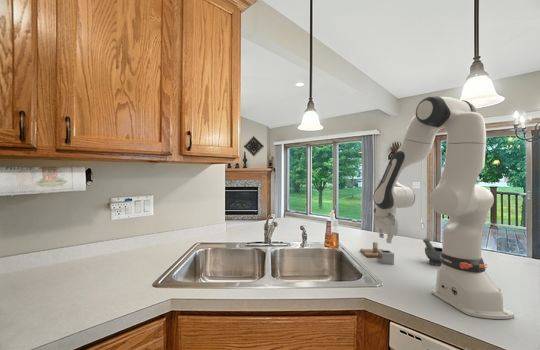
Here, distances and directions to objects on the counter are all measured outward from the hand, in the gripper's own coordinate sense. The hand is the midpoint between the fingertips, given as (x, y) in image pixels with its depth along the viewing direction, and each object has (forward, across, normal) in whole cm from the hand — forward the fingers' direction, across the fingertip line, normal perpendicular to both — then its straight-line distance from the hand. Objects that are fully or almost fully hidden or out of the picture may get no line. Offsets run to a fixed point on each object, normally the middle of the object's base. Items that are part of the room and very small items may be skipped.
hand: (385, 240), depth 127 cm
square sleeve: (+10, -1, 0) cm, 10 cm away
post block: (+11, +11, +1) cm, 16 cm away
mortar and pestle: (+10, -1, -23) cm, 26 cm away
